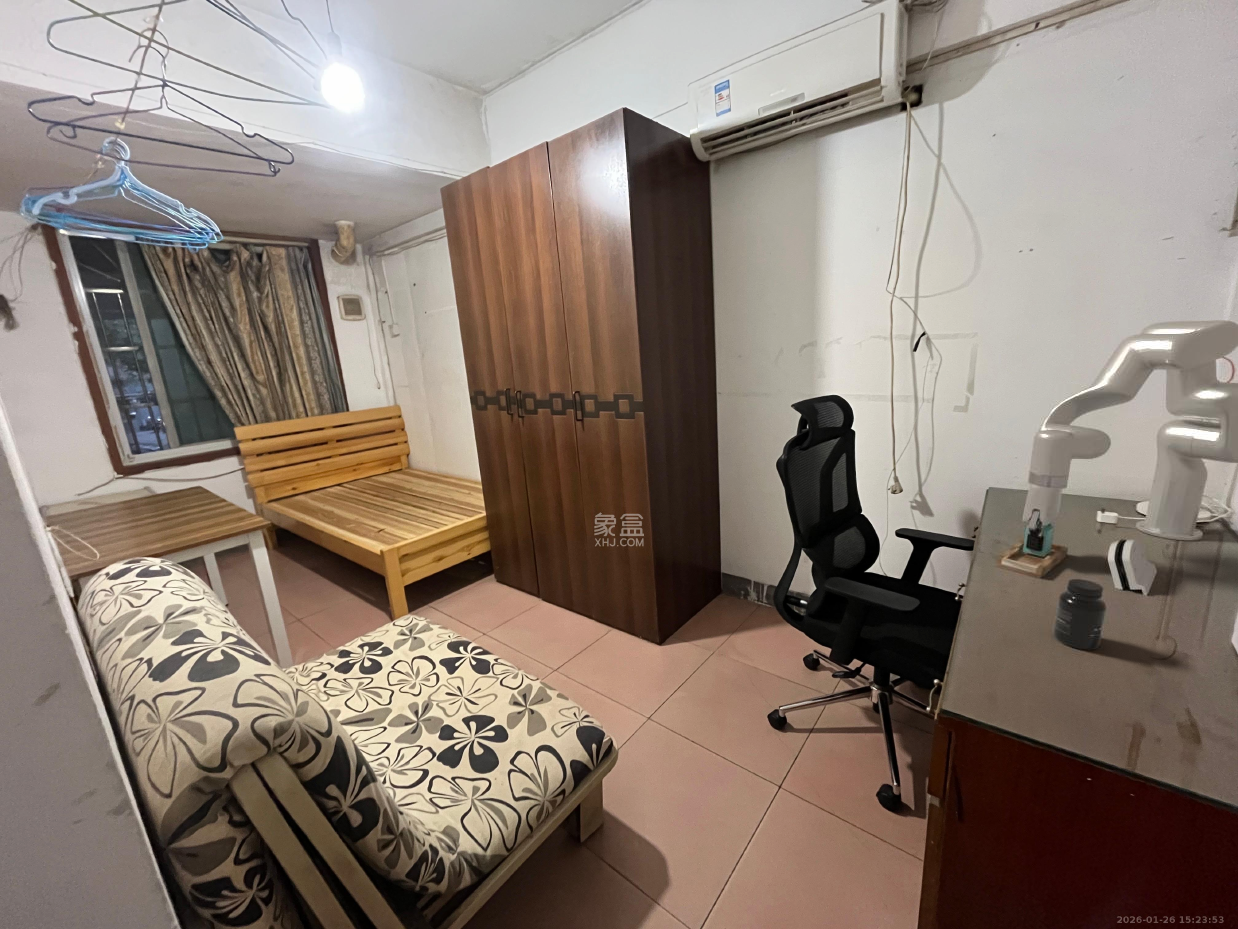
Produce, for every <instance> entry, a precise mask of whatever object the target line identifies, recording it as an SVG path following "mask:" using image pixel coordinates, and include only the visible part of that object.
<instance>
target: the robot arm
mask: <svg viewBox="0 0 1238 929" xmlns="http://www.w3.org/2000/svg"><path fill="white" fill-rule="evenodd" d="M1236 348H1238V323H1236V322H1234V321H1231V320H1221V319H1220V320H1215V319H1214V320H1186V321H1184V320H1183V321H1181V320H1179V321H1163V322H1158V323H1153V324H1149V325H1147V326H1145V327H1144V328H1143V329H1142V330H1141V332H1140V333H1139V334H1138V333H1137V334H1133V335H1131V336H1128V337H1126V338H1125V339H1123V340H1122V341H1121V342H1120V343H1119V344H1118V345H1117V347H1116V349H1115V350H1114V351H1113V353H1112V354H1111V355H1110V357H1109V359H1108V361H1107V362H1106V363H1105V364H1104V366H1103V368H1102V369H1101V370H1100V372H1099V373H1098V375H1097V376H1096V378H1095V380H1094V381H1093V382H1092V383H1091V384H1090V386H1088V387H1087V388H1084V389H1082V390H1080V391H1077V392H1076V393H1074V394H1072V395H1071V396H1069V397H1068V398H1065V400H1063V401H1061V402H1060V403H1058V404H1057V405H1056V406H1055V407H1053V408H1052V409H1051V411H1050V412H1049V413H1048V415H1047V417H1046V418H1045V419H1044V420H1043V421H1042V424H1041V425H1040V427H1039V428H1038V431H1037V432H1035V435H1034V437H1033V442H1032V443H1033V444H1032V450H1031V458H1030V463H1029V464H1030V465H1029V472H1028V478H1027V479H1028V480H1027V484H1028V485H1029V486H1030V487H1029V489H1028V492H1027V494H1026V498H1025V499H1026V500H1025V504H1024V505H1025V506H1024V508H1023V514H1022V519H1021V520H1022V522H1023V523H1025V524H1026V523H1028V522H1029V523H1028V525H1029V526H1028V525H1027V526H1028V529H1029V530H1028V536H1027V543H1026V548H1027V549H1031V550H1035V551H1039V552H1041V551H1042V548H1043V541H1044V537H1043V532H1044V528H1045V526H1047V525H1049V526H1053V522H1054V521H1055V520H1056V519H1057V518H1058V516H1059V512H1060V508H1061V500H1062V492H1063V490H1064V489H1066V488H1068V483H1069V482H1068V481H1069V476H1070V471H1071V470H1070V469H1071V463H1072V460H1073V459H1075V460H1076V459H1077V460H1093V459H1097V458H1100V457H1102V456H1103V455H1105V454H1106V453H1107V452H1108V451H1109V450H1110V448H1111V446H1112V442H1111V440H1112V439H1111V437H1110V436H1109V435H1108V433H1107V432H1104V431H1102V430H1100V429H1097V428H1091V427H1083V426H1079V425H1078V426H1077V425H1071V424H1072V423H1073V422H1074V421H1076V420H1077V419H1078V418H1080V417H1082V416H1083V415H1086V414H1088V413H1091V412H1094V411H1097V410H1101V409H1106V408H1110V407H1115V406H1119V405H1123V404H1126V403H1129V402H1131V401H1132V400H1134V398H1135V397H1137V395H1138V393H1139V391H1140V390H1141V389H1142V387H1143V386H1144V385H1145V382H1147V380H1148V378H1149V377H1150V376H1151V374H1152V373H1153V372H1154V371H1156V370H1159V371H1161V370H1162V371H1164V370H1165V375H1166V376H1165V377H1166V378H1165V382H1166V383H1165V408H1166V410H1167V412H1168V413H1169V414H1170V415H1173V416H1177V417H1180V418H1181V417H1182V418H1186V419H1175V420H1170V421H1168V422H1166V423H1164V424H1163V425H1162V426H1161V427H1160V428H1159V429H1158V431H1157V434H1156V448H1157V449H1156V450H1157V452H1156V454H1157V455H1156V456H1157V458H1156V465H1155V471H1154V476H1153V480H1152V485H1151V491H1150V495H1149V500H1148V504H1147V509H1146V515H1145V520H1140V521H1137V522H1136V524H1135V528H1136V529H1137V530H1139V531H1140V532H1142V533H1145V534H1147V535H1150V536H1154V537H1159V538H1163V539H1169V540H1177V541H1197V540H1200V539H1202V538H1203V535H1204V533H1203V532H1202V531H1201V530H1200V529H1197V528H1196V527H1197V526H1196V525H1197V522H1198V519H1199V518H1198V517H1199V513H1200V509H1201V507H1202V506H1201V504H1202V500H1203V496H1204V492H1205V488H1206V484H1207V481H1208V469H1207V467H1206V465H1205V463H1204V461H1203V460H1209V461H1214V462H1222V463H1227V464H1229V463H1230V464H1238V382H1224V381H1223V382H1222V381H1219V380H1218V377H1217V360H1220V359H1222V358H1224V357H1226V356H1229V355H1230V354H1231V353H1232V352H1233V351H1235V350H1236ZM1187 418H1188V419H1187ZM1214 421H1216V422H1214ZM1037 523H1039V524H1037ZM1037 526H1038V527H1040V531H1039V528H1037Z"/></svg>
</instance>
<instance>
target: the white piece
mask: <svg viewBox="0 0 1238 929" xmlns="http://www.w3.org/2000/svg"><path fill="white" fill-rule="evenodd" d="M1107 563H1108V566H1109V570H1110V573H1111V576H1112V581H1113V584H1114V588H1115V589H1116V588H1118V589H1117V590H1124V588H1126V587H1127V589H1130V590H1141V591H1142V594H1143V596H1145V595H1146V597H1147V596H1148V595H1147V594H1149V592H1150V589H1151V587H1152V584H1153V583H1154V580H1155V577H1156V575H1157V573H1158V571H1157V568H1156V565H1155V563H1152V562H1150V561H1149V560H1147V557H1146V554H1145V552H1144V549H1143V545H1142V542H1141V540H1140V539H1137V538H1136V539H1134V538H1128V539H1124V538H1121V539H1117V540H1113V541H1112V542H1111V544H1110V545H1109V549H1108V553H1107Z"/></svg>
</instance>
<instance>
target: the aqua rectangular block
mask: <svg viewBox="0 0 1238 929" xmlns="http://www.w3.org/2000/svg"><path fill="white" fill-rule="evenodd" d="M1037 524H1039V523H1037ZM1028 526H1029V524H1027V525H1026V527H1025V533H1024V538H1025V540H1024V547H1023V552H1026V553H1030V554H1034V555H1038V556H1042V557H1045V556H1046V555H1048V554H1049V553H1050V552H1051V547H1052V544H1053V538H1054V532H1055V528H1056V527H1055V526H1054V525H1052V526H1049V525H1047V526H1045V528H1044V532H1043V537H1044V541H1043V548H1042V551H1041V552H1039V551H1035V550H1031V549H1027V548H1026V543H1027V536H1028V530H1029V529H1028ZM1037 528H1039V531H1040V527H1038V526H1037Z"/></svg>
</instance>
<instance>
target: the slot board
mask: <svg viewBox="0 0 1238 929" xmlns="http://www.w3.org/2000/svg"><path fill="white" fill-rule="evenodd" d="M1024 540H1025V537H1024V538H1023V539H1021V540H1020V541H1019V542H1017V543H1016V544H1015V545H1012V547H1010V548H1009V549H1008V550H1006V551H1004V552H1003V553H1002V554H1000V555H999V556H998V557H997V558H996V565H995V566H996V567H997V568H1002V569H1004V570H1008V571H1011V572H1015V573H1018V574H1023V575H1026V576H1030V577H1032V576H1033V578H1036V577H1037V578H1036V579H1041V577H1042V578H1043V577H1045V575H1046V574H1047V573H1049V572H1050V571H1051V570H1052V569H1053V568H1054V567H1056V565H1058V564H1059V563H1060V562H1061V561H1062V560H1064V558H1066V557H1067V555H1068V550H1069V547H1068V546H1064V545H1060V544H1055V543H1052V547H1051V552H1050V553H1049V554H1048V555H1046V556H1045V557H1042V556H1038V555H1034V554H1030V553H1026V552H1023V547H1024ZM1048 571H1049V572H1048Z"/></svg>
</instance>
